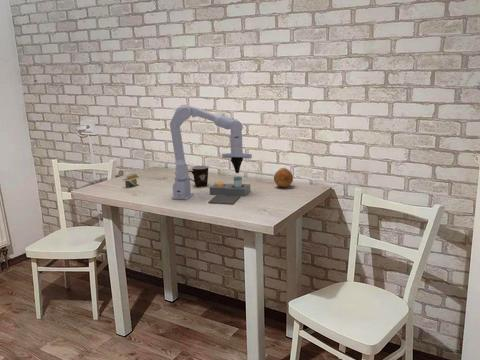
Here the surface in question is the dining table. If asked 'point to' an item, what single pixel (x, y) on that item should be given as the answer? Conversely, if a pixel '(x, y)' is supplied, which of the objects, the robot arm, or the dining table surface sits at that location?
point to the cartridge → (237, 182)
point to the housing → (230, 190)
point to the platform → (131, 180)
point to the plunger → (220, 184)
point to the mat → (224, 199)
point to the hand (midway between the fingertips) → (237, 172)
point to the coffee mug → (200, 175)
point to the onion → (283, 177)
